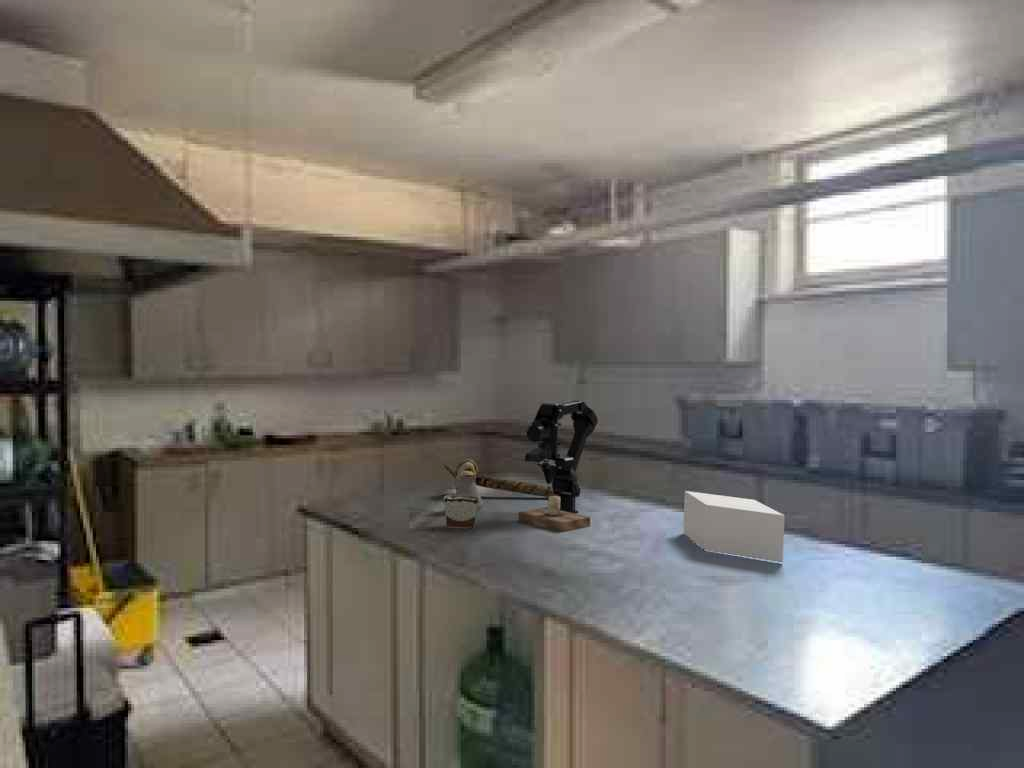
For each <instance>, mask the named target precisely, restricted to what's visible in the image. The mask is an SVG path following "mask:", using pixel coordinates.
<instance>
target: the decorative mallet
mask: <svg viewBox="0 0 1024 768" xmlns="http://www.w3.org/2000/svg"><path fill="white" fill-rule="evenodd" d="M454 473H455V474H456V475H457V477H458V478H459V476H460V475H476V476H477V477H476V478H475V484H476V486H478V487H482V488H488V489H493V490H499V491H500V490H501V491H507V492H512V493H519V494H520V493H521V494H523V495H524V494H526V495H530V496H531V495H532V496H539V497H544V498H549V496H558V495H554V494H553V488H552V485H551V486H550V485H542V484H536V483H531V482H525V481H518V480H509V479H505V478H504V479H503V478H501V477H499V478H496V477H493V476H488V475H484V474H482V473H481V472H480V470H479V466H478V464H477V462H475V461H474V460H473V459H471V458H470V459H465V460H463V461H461V462H459V463H458V464H457V465H456V468H455V471H454ZM453 478H454V479H455V482H454V483H455V485H454V486H455V490H456V491H457V489H458V486H459V484H460V482H459V481H458V480H457V479H456V478H455V477H454V476H453ZM459 479H460V478H459Z"/></svg>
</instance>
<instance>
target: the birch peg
mask: <svg viewBox="0 0 1024 768" xmlns="http://www.w3.org/2000/svg"><path fill="white" fill-rule="evenodd" d="M547 502H548V503H547V505H548V506H547V507H548V516H552V517H558V516H560V497H559V496H549V497H548V501H547Z"/></svg>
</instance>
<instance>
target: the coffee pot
mask: <svg viewBox="0 0 1024 768" xmlns="http://www.w3.org/2000/svg"><path fill="white" fill-rule="evenodd" d="M443 467H444V469H443ZM441 469H442V470H447V471H448V472H449V474H451V475H452V476H453V478H454V477H455V478H454V479H455V480H456V479H457V480H458V481H459V482H460V484H459V486H458V489H457V490H456V491H455V493H454V494H466V495H474V496H477V497H478V499H479V502H480V505H479V503H478V507H477V511H480V510H481V509H482V507H483V506H484V502H483V501H482V497H481V495H480V493H479V489H478V487H477V485H476V484H475V478H476V477H477V476H476V475H460V476H459V478H460V479H459V478H458V477H457V475H456V474H455V471H454V470H452V469H451V468H450V467H449V466H448V465H446V464H444V465H443V466H442V467H441Z"/></svg>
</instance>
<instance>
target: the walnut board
mask: <svg viewBox="0 0 1024 768" xmlns="http://www.w3.org/2000/svg"><path fill="white" fill-rule="evenodd" d="M517 520H518V522H521V523H525V524H529V525H533V526H536V527H539V528H540V527H541V528H544V529H548V530H552V531H556V532H559V533H563V532H569V531H573V530H578V529H582V528H587V527H591V517H590V516H586V515H581V514H578V513H570V512H565V511H561V510H560V516H558V517H552V516H548V506H547V507H541V508H535V509H531V510H524V511H519V512H518V519H517Z"/></svg>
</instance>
